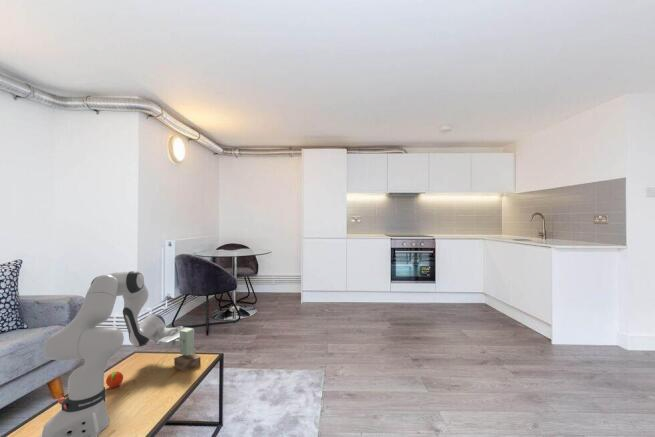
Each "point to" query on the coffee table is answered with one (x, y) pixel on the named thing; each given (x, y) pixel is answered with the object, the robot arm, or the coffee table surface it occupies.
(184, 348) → the sage block
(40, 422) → the coffee table surface
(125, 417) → the coffee table surface
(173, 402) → the coffee table surface
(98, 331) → the robot arm
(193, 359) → the walnut block
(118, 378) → the red tomato
